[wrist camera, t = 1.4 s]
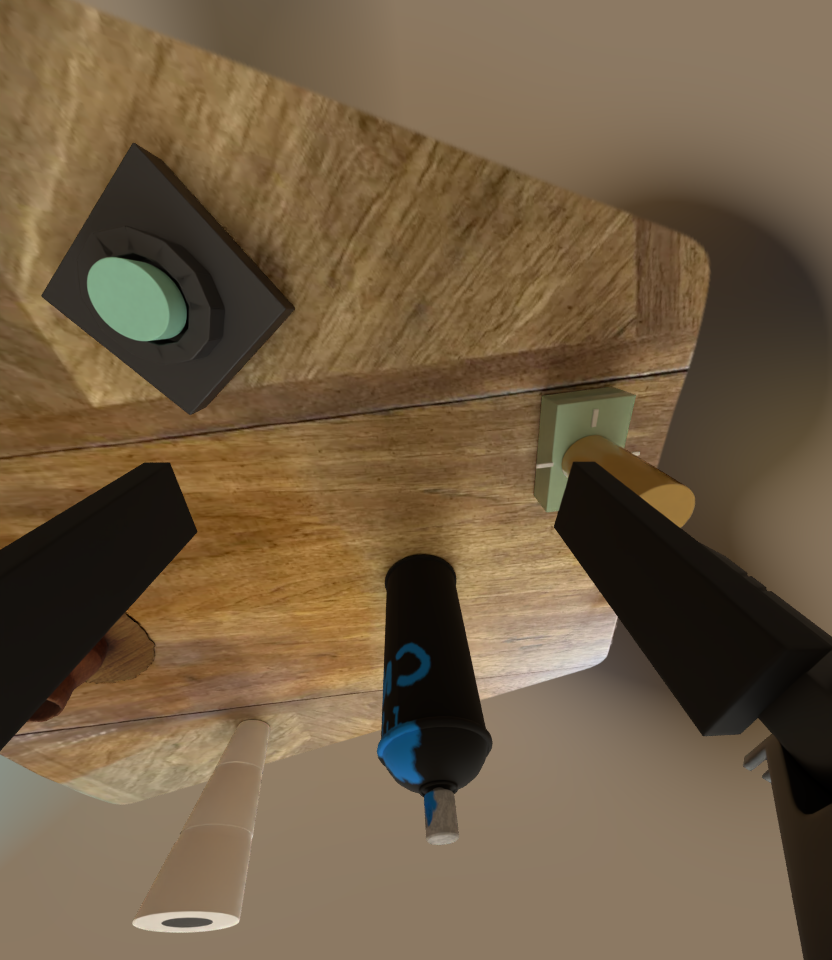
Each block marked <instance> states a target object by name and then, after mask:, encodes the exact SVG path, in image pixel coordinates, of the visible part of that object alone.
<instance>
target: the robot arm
mask: <svg viewBox="0 0 832 960" xmlns="http://www.w3.org/2000/svg"><path fill="white" fill-rule="evenodd" d="M554 528H555V529H556V531H557V532H558V533H559V535H560V536H561V538H562V539H563V540H564V542H565V543H566V545H567V546H568V547H569V549H570V550H571V552H572V553H573V554H574V556H575V557H576V559H577V560H578V561H579V563H580V564H581V566H582V567H583V569H584V570H585V571H586V573H587V574H588V576H589V577H590V578H591V580H592V581H593V583H594V584H595V585H596V587H597V588H598V590H599V591H600V592H601V594H602V595H603V597H604V598H605V599H606V601H607V602H608V604H609V605H610V606H611V608H612V609H613V611H614V612H615V613H616V615H617V616H618V618H619V619H620V620H621V622H622V623H623V625H624V626H625V627H626V629H627V630H628V632H629V633H630V634H631V636H632V637H633V639H634V640H635V641H636V643H637V644H638V646H639V647H640V648H641V650H642V651H643V653H644V654H645V655H646V657H647V658H648V660H649V661H650V662H651V664H652V665H653V667H654V668H655V670H656V671H657V672H658V674H659V675H660V676H661V678H662V679H663V681H664V682H665V684H666V685H667V686H668V688H669V689H670V691H671V692H672V693H673V695H674V696H675V698H676V699H677V700H678V702H679V703H680V705H681V706H682V707H683V709H684V710H685V712H686V713H687V714H688V716H689V717H690V719H691V720H692V721H693V723H694V724H695V726H696V727H697V728H698V730H699V731H700V733H701V734H702V735H703V736H716V735H735V734H741V733H742V732H743V731H744V730H745V729H746V728H747V727H749V726H750V725H751V724H752V723H753V722H754V721H755V720H756V719H757V718H759V719H760V720H761V721H762V723H763V724H764V725H765V726H766V727H767V728H768V729H769V730H770V732H771V733H772V734H771V735H770V736H769V737H767V738H766V739H765V740H764V741H763V742H762V743H760V744H759V745H758V746H757V747H755V748H754V749H753V750H752V751H751V752H750V753H748V754H747V755H746V756H745V758H744V764H743V767H745V768H746V769H748V770H750V771H751V770H753V769H754V768H755V767H757V766H758V765H759V764H760V763H762V762H763V761H764V760H767V763H768V768H769V770H767V771H766V772H765V773H764V774H763V776H762V778H763V779H765V780H767V781H769V782H770V783H771V784H772V790H773V795H774V801H775V806H776V812H777V817H778V822H779V828H780V833H781V839H782V844H783V850H784V855H785V860H786V866H787V871H788V877H789V882H790V887H791V892H792V898H793V904H794V909H795V914H796V920H797V925H798V931H799V936H800V941H801V946H802V952H803V958H804V960H832V637H831V636H830V635H829V634H827V633H826V632H825V631H823V630H822V629H821V628H819V627H818V626H817V625H815V624H814V623H813V622H811V621H810V620H809V619H807V618H806V617H805V616H803V615H802V614H801V613H800V612H798V611H797V610H796V609H794V608H793V607H792V606H790V605H789V604H788V603H786V602H785V601H784V600H782V599H781V598H780V597H778V596H777V595H776V594H774V593H773V592H772V591H767V590H766V587H765V586H764V585H763V584H761V583H760V582H759V581H757V580H756V579H755V578H753V577H752V576H748V575H747V572H745V571H744V570H743V569H741V568H740V567H739V566H737V565H736V564H735V563H733V562H732V561H731V560H729V559H728V558H727V557H726V556H724V555H722V554H720V553H718V552H716V551H714V550H713V549H710V548H709V547H707V546H705V545H703V544H701V543H699V542H698V541H696V540H695V539H694V538H692V537H691V536H690V535H689V534H687V533H686V532H685V531H683V530H682V529H681V528H680V527H678V526H677V525H676V524H675V523H673V522H672V521H671V520H669V519H668V518H667V517H666V516H664V515H663V514H662V513H660V512H659V511H658V510H657V509H655V508H654V507H653V506H651V505H650V504H649V503H648V502H646V501H645V500H644V499H642V498H641V497H640V496H639V495H637V494H636V493H635V492H633V491H632V490H631V489H630V488H628V487H627V486H626V485H624V484H623V483H622V482H621V481H619V480H618V479H617V478H615V477H614V476H613V475H612V474H610V473H609V472H608V471H606V470H605V469H604V468H603V467H601V466H600V465H599V464H597V463H596V462H573V463H572V467H571V470H570V473H569V477H568V480H567V484H566V487H565V490H564V494H563V497H562V501H561V504H560V508H559V511H558V514H557V518H556V521H555V525H554ZM196 533H197V529H196V527H195V524H194V522H193V519H192V517H191V514H190V512H189V509H188V507H187V504H186V502H185V499H184V497H183V494H182V492H181V489H180V487H179V484H178V482H177V479H176V477H175V474H174V472H173V469H172V467H171V464H170V463H143V464H141V465H140V466H138V467H136V468H135V469H133V470H131V471H130V472H128V473H127V474H125V475H123V476H122V477H120V478H118V479H117V480H115V481H113V482H112V483H110V484H108V485H107V486H105V487H103V488H102V489H100V490H98V491H97V492H95V493H94V494H92V495H90V496H89V497H87V498H85V499H84V500H82V501H80V502H79V503H77V504H75V505H74V506H72V507H70V508H69V509H67V510H65V511H64V512H62V513H60V514H59V515H57V516H56V517H54V518H52V519H51V520H49V521H47V522H46V523H44V524H42V525H41V526H39V527H37V528H36V529H34V530H32V531H31V532H29V533H27V534H26V535H24V536H23V537H21V538H19V539H18V540H16V541H14V542H13V543H11V544H9V545H8V546H6V547H4V548H3V549H1V550H0V751H1V750H2V748H3V747H4V746H5V745H6V744H7V743H8V742H9V741H10V740H11V738H12V737H13V736H14V735H15V734H16V733H17V732H18V731H19V730H20V728H21V727H22V726H23V725H24V724H25V723H26V722H27V721H28V720H29V718H30V717H31V716H32V715H33V714H34V713H35V712H36V711H37V710H38V708H39V707H40V706H41V705H42V704H43V703H44V702H45V701H46V700H47V698H48V697H49V696H50V695H51V694H52V693H53V692H54V691H55V690H56V688H57V687H58V686H59V685H60V684H61V683H62V682H63V681H64V680H65V678H66V677H67V676H68V675H69V674H70V673H71V672H72V671H73V670H74V669H75V667H76V666H77V665H78V664H79V663H80V662H81V661H82V660H83V659H84V657H85V656H86V655H87V654H88V653H89V652H90V651H91V650H92V649H93V647H94V646H95V645H96V644H97V643H98V642H99V641H100V640H101V639H102V637H103V636H104V635H105V634H106V633H107V632H108V631H109V630H110V629H111V627H112V626H113V625H114V624H115V623H116V622H117V621H118V620H119V619H120V617H121V616H122V615H123V614H124V613H125V612H126V611H127V610H128V609H129V607H130V606H131V605H132V604H133V603H134V602H135V601H136V600H137V599H138V597H139V596H140V595H141V594H142V593H143V592H144V591H145V590H146V589H147V587H148V586H149V585H150V584H151V583H152V582H153V581H154V580H155V579H156V577H157V576H158V575H159V574H160V573H161V572H162V571H163V570H164V569H165V567H166V566H167V565H168V564H169V563H170V562H171V561H172V560H173V559H174V557H175V556H176V555H177V554H178V553H179V552H180V551H181V550H182V549H183V547H184V546H185V545H186V544H187V543H188V542H189V541H190V540H191V539H192V537H193V536H194V535H195V534H196Z"/></svg>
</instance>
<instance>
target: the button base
mask: <svg viewBox="0 0 832 960" xmlns="http://www.w3.org/2000/svg"><path fill="white" fill-rule="evenodd" d="M107 257H118V258H124V259H129V260H134V261H140V262H145V263H148V264H150V265H153V266H155V267H156V268H158V269H160V270H161V271H163V272H164V273H165V274H166V275H167V276H169V277H170V279H171V280H172V281H173V282H174V283H175V284H176V286H177V287H178V289H179V290H180V292H181V294H182V296H183V298H184V301H185V304H186V309H187V320H186V324H185V326H184V328H183V329H182V331H181V332H180V333H179V334H178V335H176V336H174V337H172V338H168V339H160V340H152V341H138V340H134V339H130V338H128V337H126V336H124V335H122V334H120V333H118V332H117V331H115V330H114V329H113V328H111V327H110V326H109V325H108V324H107V323H106V322H105V321H104V320H103V319H102V318H101V317H100V315H99V314H98V313H97V311H96V310H95V308H94V306H93V304H92V302H91V300H90V297H89V294H88V289H87V277H88V273H89V271H90V269H91V267H92V266H93V264H95V263H96V262H97V261H99V260H101V259H103V258H107ZM42 297H43V298H44V299H45V300H46V301H48V302H49V303H50V304H51V305H53V306H54V307H55V308H56V309H58V310H59V311H60V312H61V313H63V314H64V315H65V316H66V317H68V318H69V319H70V320H71V321H73V322H74V323H75V324H76V325H78V326H79V327H80V328H81V329H83V330H84V331H85V332H86V333H88V334H89V335H90V336H91V337H93V338H94V339H95V340H96V341H98V342H99V343H100V344H102V345H103V346H104V347H105V348H107V349H108V350H109V351H110V352H112V353H113V354H114V355H115V356H117V357H118V358H119V359H120V360H122V361H123V362H124V363H125V364H127V365H128V366H129V367H130V368H132V369H133V370H134V371H135V372H137V373H138V374H139V375H140V376H142V377H143V378H144V379H145V380H147V381H148V382H149V383H150V384H152V385H153V386H154V387H155V388H157V389H158V390H159V391H160V392H162V393H163V394H164V395H165V396H167V397H168V398H169V399H170V400H172V401H173V402H174V403H175V404H177V405H178V406H179V407H180V408H182V409H183V410H184V411H185V412H187V413H188V414H189V415H191V414H193V413H195V412H197V411H199V410H201V409H203V408H205V407H206V406H207V405H208V404H209V403H210V402H211V401H212V400H213V399H214V398H215V396H216V395H217V394H218V393H219V392H220V391H221V390H222V389H223V388H224V387H225V386H226V384H227V383H228V382H229V381H230V380H231V379H232V378H233V377H234V376H235V375H236V373H237V372H238V371H239V370H240V369H241V368H242V367H243V366H244V365H245V364H246V362H247V361H248V360H249V359H250V358H251V357H252V356H253V355H254V354H255V353H256V352H257V350H258V349H259V348H260V347H261V346H262V345H263V344H264V343H265V342H266V341H267V339H268V338H269V337H270V336H271V335H272V334H273V333H274V332H275V331H276V330H277V329H278V327H279V326H280V325H281V324H282V323H283V322H284V321H285V320H286V319H287V318H288V316H289V315H290V314H291V313H292V312H293V311H294V310H295V308H294V307H293V306H292V304H291V303H290V302H289V301H288V300H287V299H286V298H285V297H284V296H283V294H282V293H281V292H280V291H279V290H278V289H277V288H276V287H275V286H274V284H273V283H272V282H271V281H270V280H269V279H268V278H267V277H266V276H265V274H264V273H263V272H262V271H261V270H260V269H259V268H258V267H257V266H256V264H255V263H254V262H253V261H252V260H251V259H250V258H249V257H248V256H247V254H246V253H245V252H244V251H243V250H242V249H241V248H240V247H239V246H238V244H237V243H236V242H235V241H234V240H233V239H232V238H231V237H230V236H229V235H228V233H227V232H226V231H225V230H224V229H223V228H222V227H221V226H220V225H219V223H218V222H217V221H216V220H215V219H214V218H213V217H212V216H211V215H210V213H209V212H208V211H207V210H206V209H205V208H204V207H203V206H202V205H201V203H200V202H199V201H198V200H197V199H196V198H195V197H194V196H193V195H192V193H191V192H190V191H189V190H188V189H187V188H186V187H185V186H184V185H183V183H182V182H181V181H180V180H179V179H178V178H177V177H176V176H175V175H174V173H173V172H172V171H171V170H170V169H169V168H168V167H167V166H166V165H165V163H164V162H163V161H162V160H161V159H159V158H158V157H156V156H155V155H153V154H151V153H150V152H148V151H147V150H145V149H143V148H142V147H140V146H139V145H137V144H136V143H132V145H131V147H130V148H129V150H128V152H127V153H126V155H125V157H124V158H123V160H122V162H121V163H120V165H119V167H118V168H117V170H116V172H115V173H114V175H113V177H112V178H111V180H110V182H109V183H108V185H107V187H106V188H105V190H104V192H103V193H102V195H101V197H100V198H99V200H98V202H97V204H96V205H95V207H94V209H93V210H92V212H91V214H90V215H89V217H88V219H87V220H86V222H85V224H84V225H83V227H82V229H81V230H80V232H79V234H78V235H77V237H76V239H75V240H74V242H73V244H72V245H71V247H70V249H69V250H68V252H67V254H66V255H65V257H64V259H63V260H62V262H61V264H60V265H59V267H58V269H57V270H56V272H55V274H54V275H53V277H52V279H51V280H50V282H49V284H48V285H47V287H46V289H45V290H44V292H43V294H42Z"/></svg>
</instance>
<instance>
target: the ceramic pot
mask: <svg viewBox="0 0 832 960" xmlns="http://www.w3.org/2000/svg"><path fill="white" fill-rule="evenodd" d="M139 626H140V625H138V624H137V623H136V622H134V621H132V620H131V619H130V618H128V617H127V615H126V614H125V613H124V614H123V615H122V616H121V617H120V619H119V620H118V621H117V622H116V623H115V624H114V625H113V626H112V627H111V629H110V630H109V631H108V632H107V633H106V634H105V635H104V636H103V637H102V639H101V640H100V641H99V642H98V643H97V644H96V645H95V646H94V647H93V649H92V650H91V651H90V652H89V653H88V654H87V655H86V656H85V657H84V659H83V660H82V661H81V662H80V663H79V664H78V665H77V666H76V667H75V669H74V670H73V671H72V672H71V673H70V674H69V675H68V676H67V677H66V678H65V680H64V681H63V682H62V683H61V684H60V685H59V686H58V687H57V688H56V690H55V691H54V692H53V693H52V694H51V695H50V696H49V697H48V698H47V700H46V701H45V702H44V703H43V704H42V705H41V706H40V707H39V708H38V710H37V711H36V712H35V713H34V714H33V715H32V716H31V717H30V718H29V720H28V721H27V722H29V721H33V722H43V721H47V720H49V719H51V718H53V717H55V716H58V715H59V714H60V713H61V712H62V711H63V709H64V707H65V706H66V704H67V701H68V700H69V698H70V696H71V694H72V692H73V691H74V689H75V688H77V687H78V686H79V685H81V684H82V683H84V682H86V683H91V682H94V683H96V684H98V683H116V682H117V681H121V680H122V681H125V680H130V679H134V678H136V677H137V675H140V673H141V672H144V671H146V670H147V666H148V665H150V664H152V661H154V660H153V658H154V656H155V654H154V650H153V648H154V647H155V646H154V643H153V642H152V641H150V640H149V639H148V636H147V635H146V633H145V631H143V630H142V629H141V628H140V627H139Z"/></svg>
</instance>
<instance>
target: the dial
mask: <svg viewBox="0 0 832 960" xmlns="http://www.w3.org/2000/svg"><path fill="white" fill-rule="evenodd" d="M573 462H596V463H597V464H599V465H600V466H601V467H603V468H604V469H605V470H606V471H608V472H609V473H610V474H612V475H613V476H614V477H615V478H617V479H618V480H619V481H621V482H622V483H623V484H624V485H626V486H627V487H628V488H630V489H631V490H632V491H633V492H635V493H636V494H637V495H639V496H640V497H641V498H642V499H644V500H645V501H646V502H648V503H649V504H650V505H651V506H653V507H654V508H655V509H657V510H658V511H659V512H660V513H662V514H663V515H664V516H666V517H667V518H668V519H669V520H671V521H672V522H673V523H675V524H676V525H677V526H678V527H680V528H681V527H682V526H683V525H684V524H685V523H686V522H687V521H688V519H689V518H690V516H691V515H692V513H693V511H694V507H695V497H694V494H693V492H692V491H691V490H690V489H689V488H688V487H687V486H685V485H683V484H682V483H680V482H678V481H677V480H675V479H673V478H672V477H670V476H669V475H667V474H665V473H664V472H662V471H660V470H659V469H657V468H655V467H654V466H652V465H651V464H649V463H647V462H646V461H644V460H642V459H641V458H639V457H637V456H636V455H634V454H633V453H631V452H629V451H628V450H626V449H624V448H623V447H621V446H619V445H618V444H616V443H615V442H613V441H611V440H610V439H608V438H606V437H604V436H600V435H591V436H587V437H584V438H581V439H580V440H578V441H576V442H575V443H574V444H572V445H571V446H570V447H569V449H568V450H567V451H566V453H565V455H564V457H563V459H562V472H563V474H564V476H565V477H566V478H567V479H568V477H569V473H570V470H571V467H572V463H573Z"/></svg>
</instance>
